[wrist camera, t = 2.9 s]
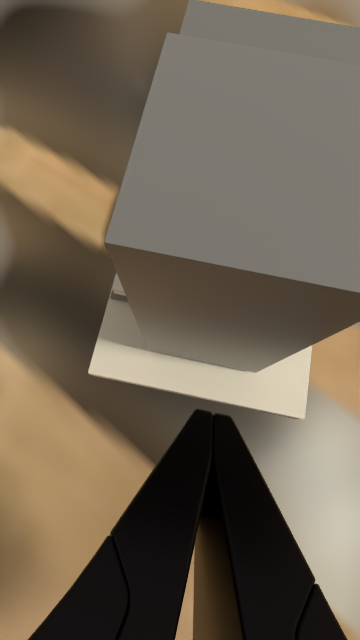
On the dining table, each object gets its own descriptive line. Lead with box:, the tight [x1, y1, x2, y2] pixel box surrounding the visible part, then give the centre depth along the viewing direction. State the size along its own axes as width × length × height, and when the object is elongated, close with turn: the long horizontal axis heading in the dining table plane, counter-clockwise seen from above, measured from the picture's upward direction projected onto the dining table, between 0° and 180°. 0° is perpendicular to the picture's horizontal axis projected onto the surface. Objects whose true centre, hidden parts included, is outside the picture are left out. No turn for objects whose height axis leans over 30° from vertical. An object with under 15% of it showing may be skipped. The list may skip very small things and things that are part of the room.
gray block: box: [104, 33, 360, 373], centre depth 11 cm, size 5×9×10 cm, turn 78°
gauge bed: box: [88, 0, 360, 419], centre depth 15 cm, size 15×10×7 cm, turn 168°
